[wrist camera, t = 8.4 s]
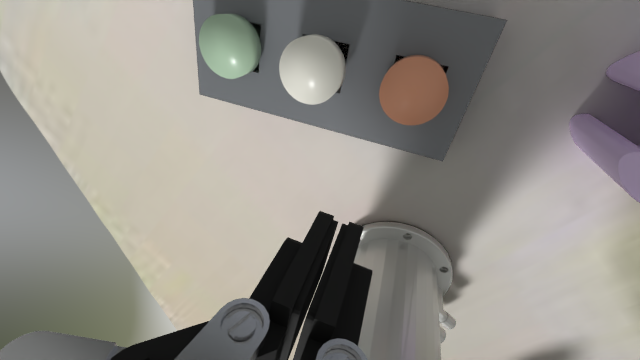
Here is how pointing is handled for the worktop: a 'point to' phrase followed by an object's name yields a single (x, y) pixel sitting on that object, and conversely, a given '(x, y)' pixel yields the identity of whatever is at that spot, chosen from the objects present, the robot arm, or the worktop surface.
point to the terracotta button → (414, 90)
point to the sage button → (230, 45)
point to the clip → (612, 134)
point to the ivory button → (312, 68)
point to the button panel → (358, 63)
